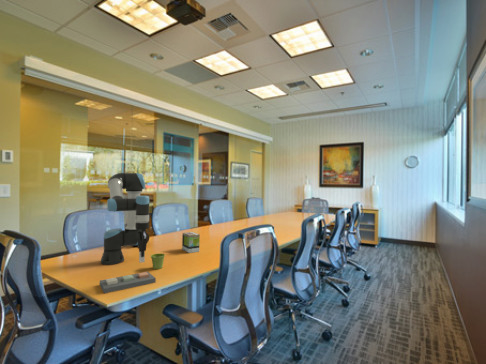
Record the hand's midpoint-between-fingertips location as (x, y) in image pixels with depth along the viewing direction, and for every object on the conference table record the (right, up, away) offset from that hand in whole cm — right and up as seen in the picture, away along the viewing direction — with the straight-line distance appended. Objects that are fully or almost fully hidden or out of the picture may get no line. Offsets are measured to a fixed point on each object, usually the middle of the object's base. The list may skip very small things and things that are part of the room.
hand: (141, 261), depth 158 cm
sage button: (-6, -9, -4) cm, 12 cm away
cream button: (-13, -9, -9) cm, 19 cm away
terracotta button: (0, -10, +1) cm, 10 cm away
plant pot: (+2, -12, +24) cm, 27 cm away
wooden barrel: (-35, -11, +87) cm, 94 cm away
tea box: (+15, -12, +72) cm, 74 cm away
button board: (-6, -11, -4) cm, 14 cm away
